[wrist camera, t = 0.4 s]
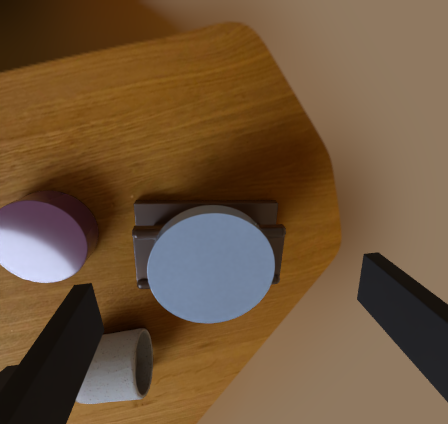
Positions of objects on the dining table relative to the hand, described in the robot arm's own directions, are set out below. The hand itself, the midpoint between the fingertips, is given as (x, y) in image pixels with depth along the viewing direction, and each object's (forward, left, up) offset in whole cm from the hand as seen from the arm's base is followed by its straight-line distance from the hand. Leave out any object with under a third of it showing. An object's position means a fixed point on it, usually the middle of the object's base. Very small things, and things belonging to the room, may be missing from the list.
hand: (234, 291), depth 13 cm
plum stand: (+5, -17, -18) cm, 26 cm away
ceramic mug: (+23, -11, -18) cm, 31 cm away
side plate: (+5, 0, -11) cm, 12 cm away
